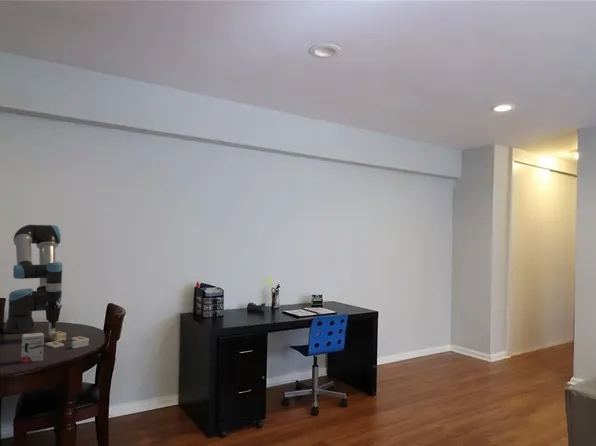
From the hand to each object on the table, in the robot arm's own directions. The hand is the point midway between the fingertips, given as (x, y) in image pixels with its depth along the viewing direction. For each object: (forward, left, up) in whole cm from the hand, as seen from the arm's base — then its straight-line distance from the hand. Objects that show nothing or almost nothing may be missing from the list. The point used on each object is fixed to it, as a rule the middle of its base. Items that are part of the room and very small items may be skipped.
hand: (51, 334), depth 245 cm
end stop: (+26, 0, -2) cm, 26 cm away
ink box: (+31, -26, -2) cm, 41 cm away
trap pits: (+15, 0, -2) cm, 15 cm away
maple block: (+6, 0, -2) cm, 7 cm away
